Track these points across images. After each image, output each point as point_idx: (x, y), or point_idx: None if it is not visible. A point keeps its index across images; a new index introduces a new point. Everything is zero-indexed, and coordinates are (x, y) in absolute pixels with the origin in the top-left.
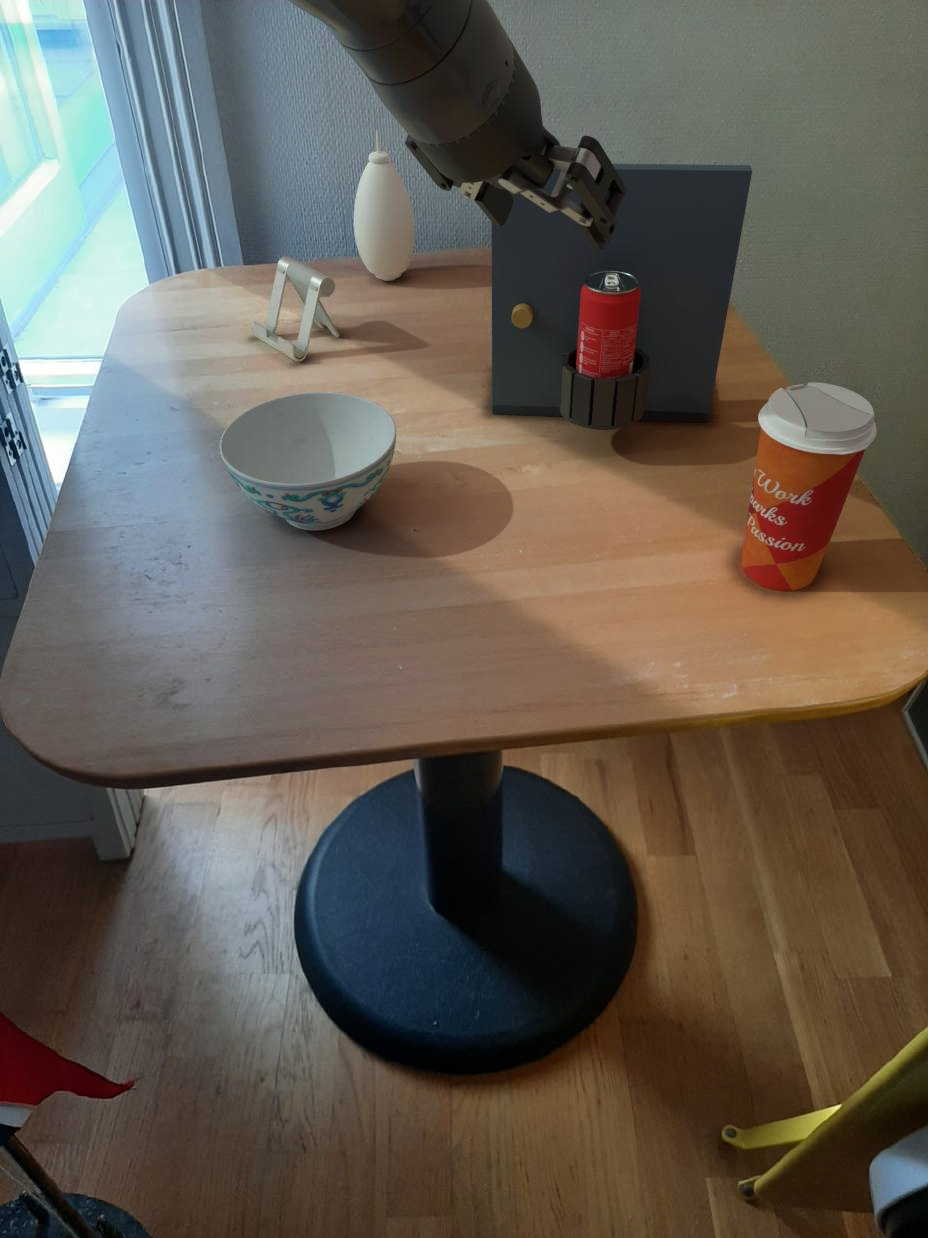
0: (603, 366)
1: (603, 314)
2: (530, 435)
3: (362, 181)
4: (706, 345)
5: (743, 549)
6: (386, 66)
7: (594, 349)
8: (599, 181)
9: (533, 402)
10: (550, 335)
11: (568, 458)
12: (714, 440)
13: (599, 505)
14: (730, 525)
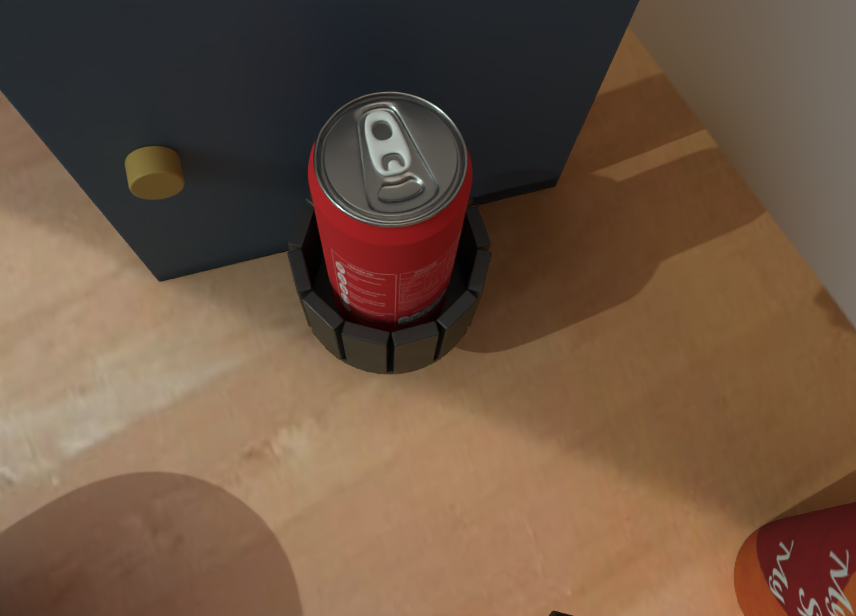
0: (403, 305)
1: (395, 258)
2: (255, 329)
3: None
4: (567, 104)
5: (754, 609)
6: None
7: (378, 293)
8: None
9: (235, 251)
10: (234, 172)
11: (349, 381)
12: (582, 236)
13: (450, 513)
14: (684, 487)
